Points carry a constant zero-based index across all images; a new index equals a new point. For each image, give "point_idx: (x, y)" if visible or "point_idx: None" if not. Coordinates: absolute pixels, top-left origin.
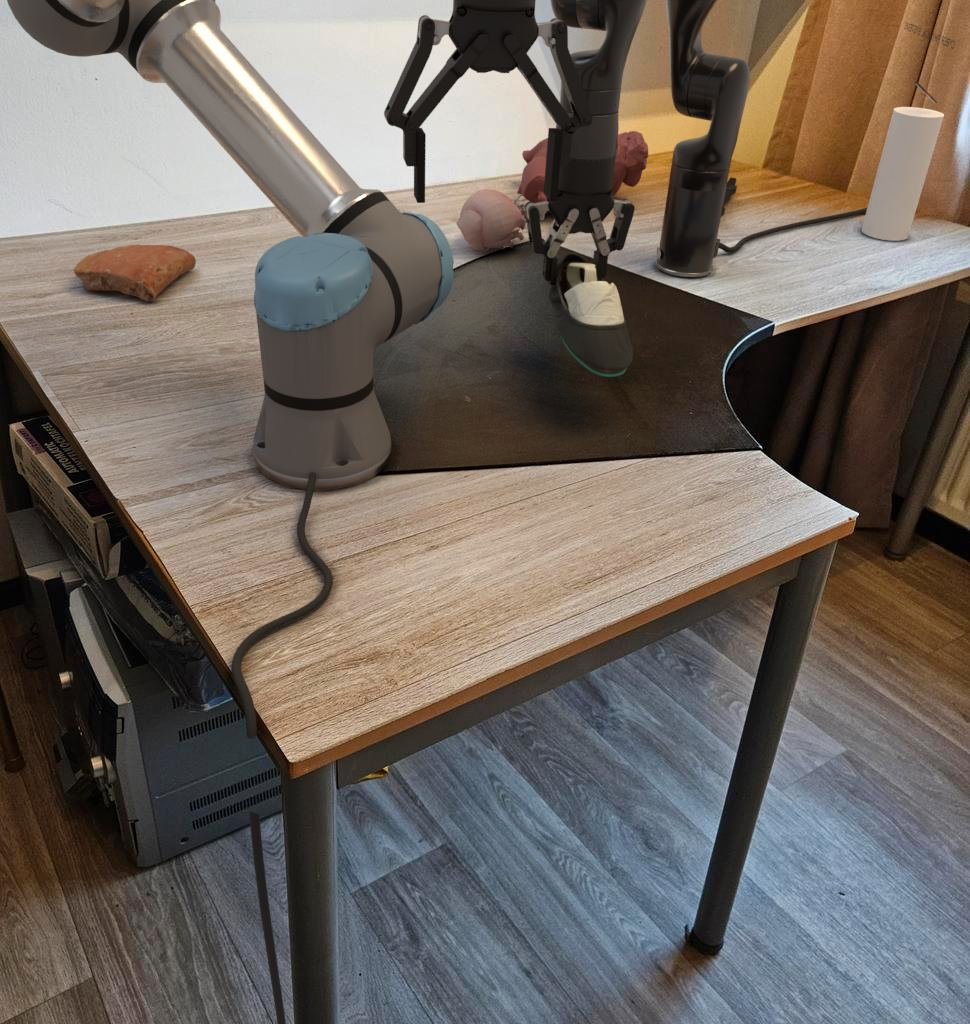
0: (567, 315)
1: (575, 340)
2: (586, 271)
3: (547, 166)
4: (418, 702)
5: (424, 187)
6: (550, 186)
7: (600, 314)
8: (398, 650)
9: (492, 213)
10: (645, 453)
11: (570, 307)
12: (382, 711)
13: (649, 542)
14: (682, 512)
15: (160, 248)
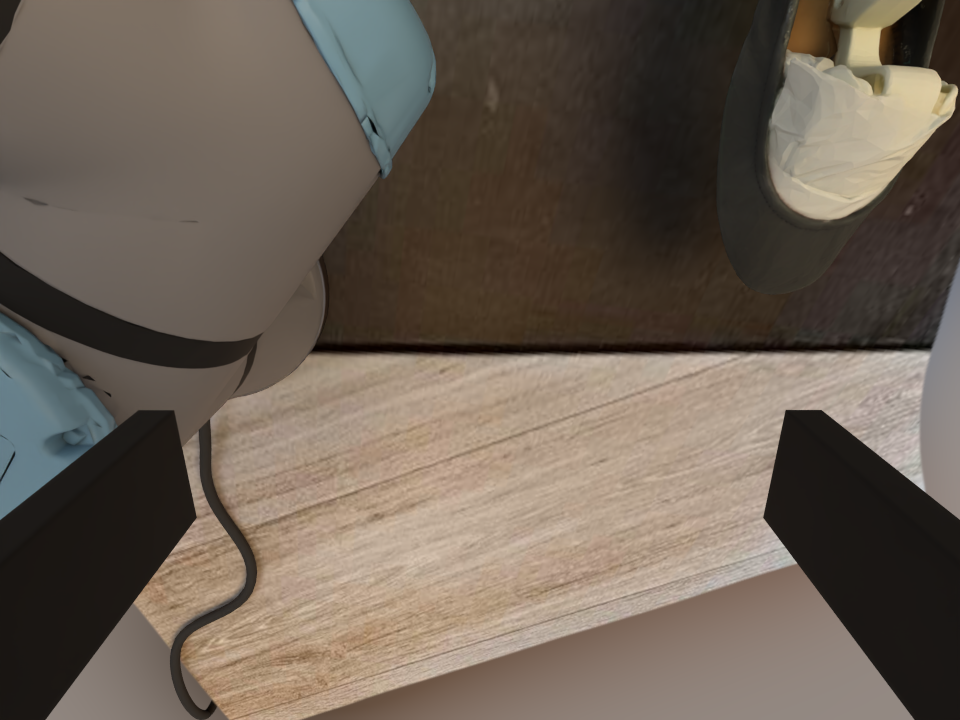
0: (764, 105)
1: (734, 205)
2: None
3: (863, 526)
4: (344, 703)
5: (159, 565)
6: (797, 548)
7: (833, 191)
8: (329, 651)
9: None
10: (748, 339)
11: (781, 108)
12: (313, 707)
13: (646, 537)
14: (720, 487)
15: None
